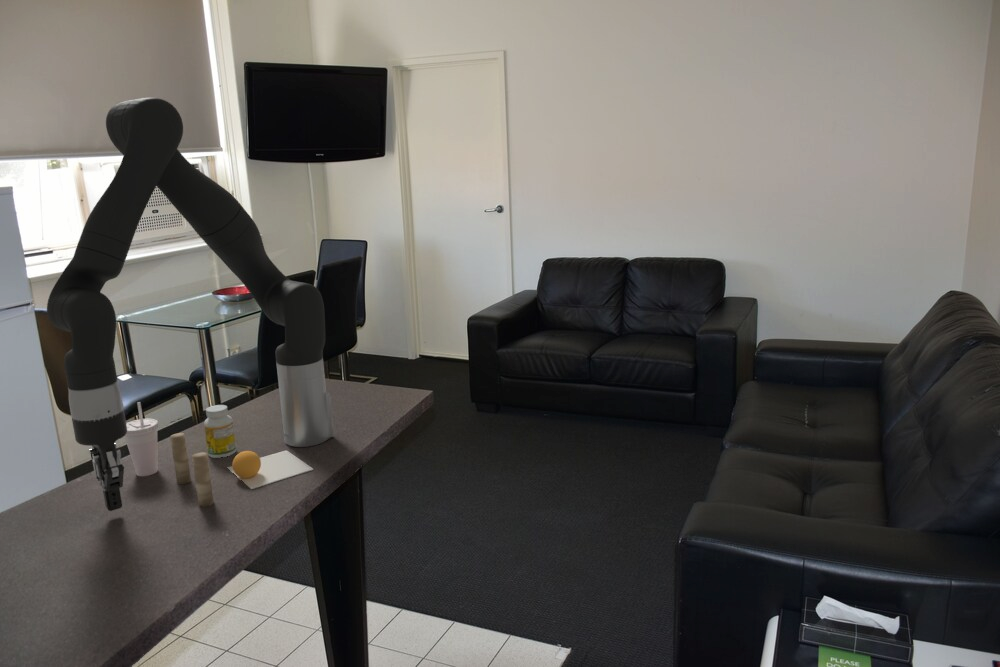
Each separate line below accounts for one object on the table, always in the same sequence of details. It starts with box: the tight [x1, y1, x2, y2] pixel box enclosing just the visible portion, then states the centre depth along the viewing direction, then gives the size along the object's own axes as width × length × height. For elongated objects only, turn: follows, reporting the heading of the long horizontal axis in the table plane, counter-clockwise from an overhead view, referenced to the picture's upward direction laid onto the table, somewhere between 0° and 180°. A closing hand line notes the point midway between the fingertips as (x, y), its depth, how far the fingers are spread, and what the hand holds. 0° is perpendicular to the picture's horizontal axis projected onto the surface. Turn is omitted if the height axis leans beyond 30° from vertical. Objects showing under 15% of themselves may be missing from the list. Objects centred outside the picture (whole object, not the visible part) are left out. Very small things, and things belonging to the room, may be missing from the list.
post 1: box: [169, 432, 192, 485], centre depth 137 cm, size 2×2×9 cm
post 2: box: [191, 451, 215, 508], centre depth 128 cm, size 2×2×9 cm
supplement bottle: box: [203, 404, 237, 459], centre depth 149 cm, size 5×5×10 cm
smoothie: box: [124, 401, 160, 477], centre depth 141 cm, size 6×6×14 cm
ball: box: [231, 450, 261, 478], centre depth 138 cm, size 5×5×5 cm
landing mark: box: [226, 450, 314, 490], centre depth 142 cm, size 12×12×1 cm
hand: (114, 507), depth 125 cm, fingers closed
